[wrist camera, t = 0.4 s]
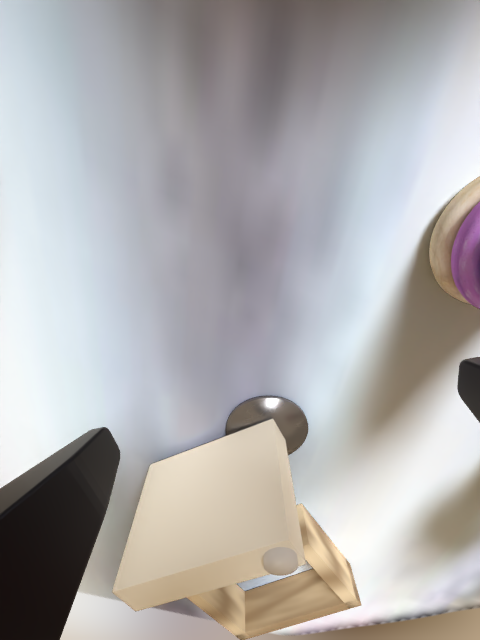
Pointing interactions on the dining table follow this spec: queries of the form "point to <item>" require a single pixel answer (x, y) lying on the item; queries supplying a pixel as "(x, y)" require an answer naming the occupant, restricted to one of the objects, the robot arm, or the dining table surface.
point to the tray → (287, 590)
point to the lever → (212, 520)
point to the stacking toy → (459, 246)
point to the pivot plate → (268, 408)
